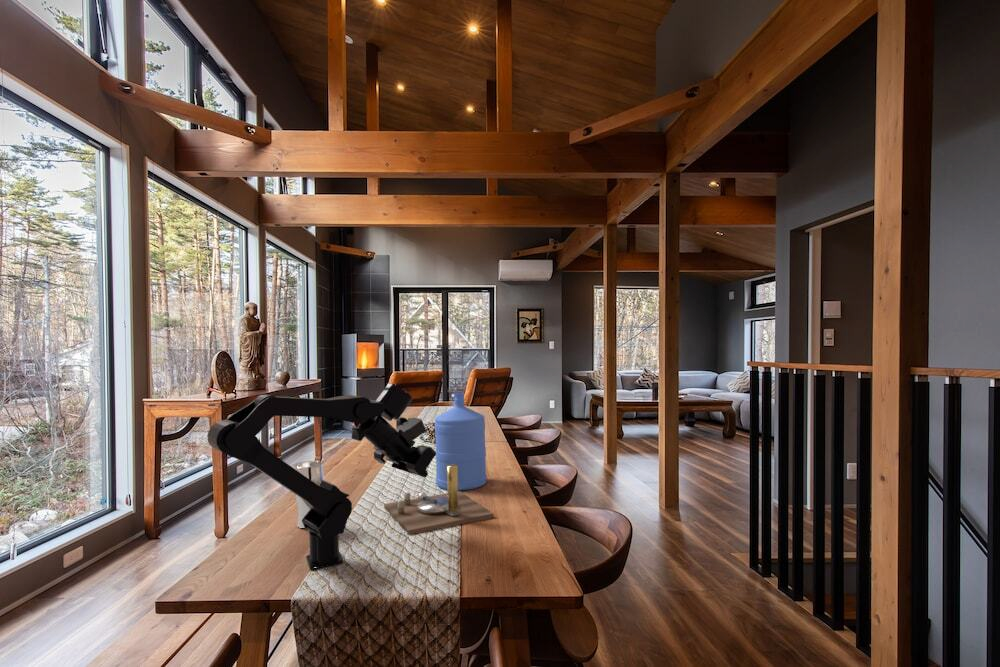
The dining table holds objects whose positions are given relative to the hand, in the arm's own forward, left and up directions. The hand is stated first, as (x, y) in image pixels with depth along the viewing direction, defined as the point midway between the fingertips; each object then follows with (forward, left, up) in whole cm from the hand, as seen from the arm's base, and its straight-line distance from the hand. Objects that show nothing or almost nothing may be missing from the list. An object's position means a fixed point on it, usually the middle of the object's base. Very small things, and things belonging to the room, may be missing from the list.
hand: (425, 475), depth 124 cm
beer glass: (+17, +24, -13) cm, 32 cm away
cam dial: (+9, -6, -11) cm, 15 cm away
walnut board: (+9, -6, -13) cm, 17 cm away
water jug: (+30, -22, -13) cm, 39 cm away
